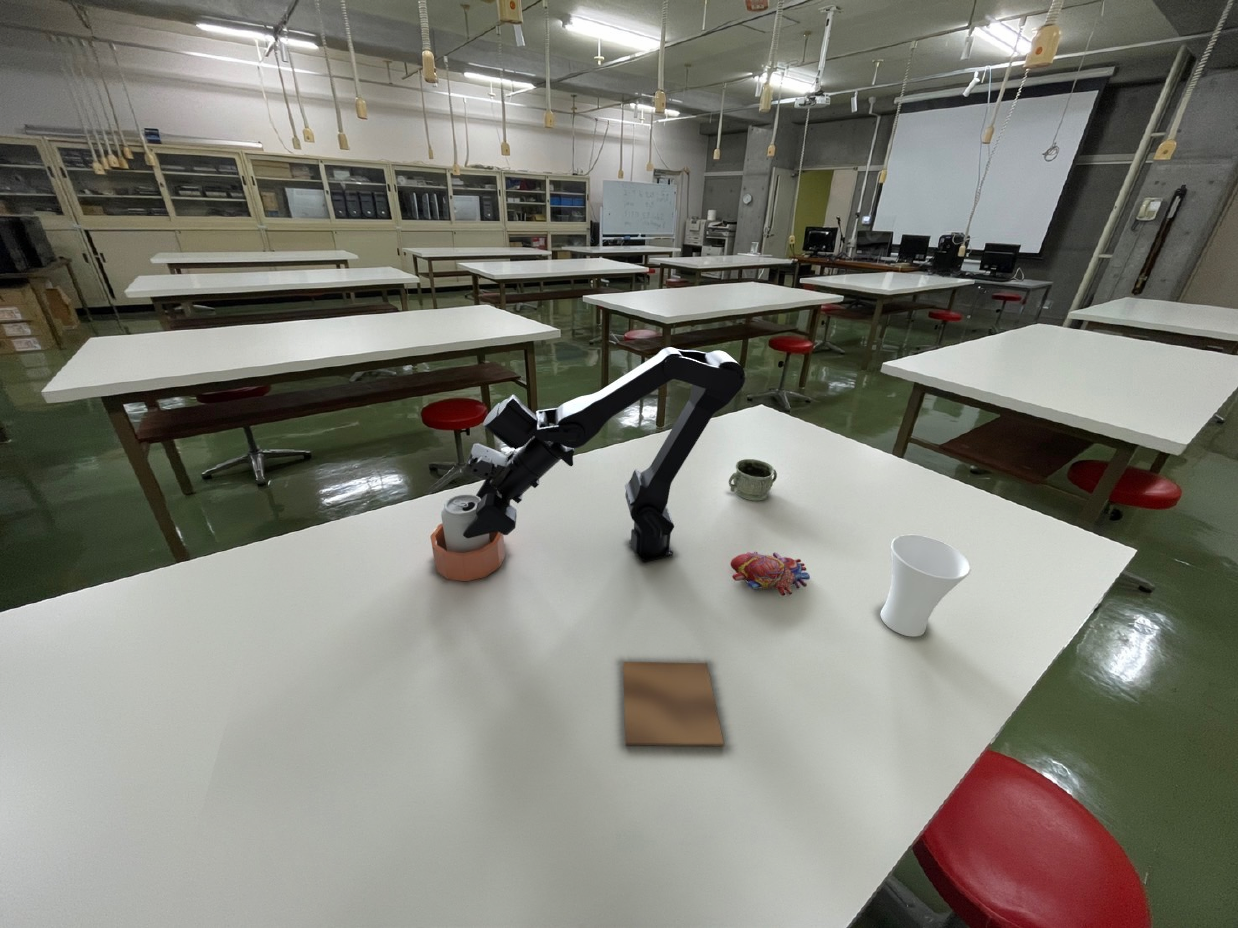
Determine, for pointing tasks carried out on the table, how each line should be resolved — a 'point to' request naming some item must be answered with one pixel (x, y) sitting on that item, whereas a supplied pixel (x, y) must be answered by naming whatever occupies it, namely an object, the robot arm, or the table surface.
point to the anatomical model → (769, 571)
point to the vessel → (752, 479)
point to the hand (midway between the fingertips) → (469, 520)
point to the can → (461, 524)
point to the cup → (920, 581)
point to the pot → (467, 558)
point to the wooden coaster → (669, 704)
